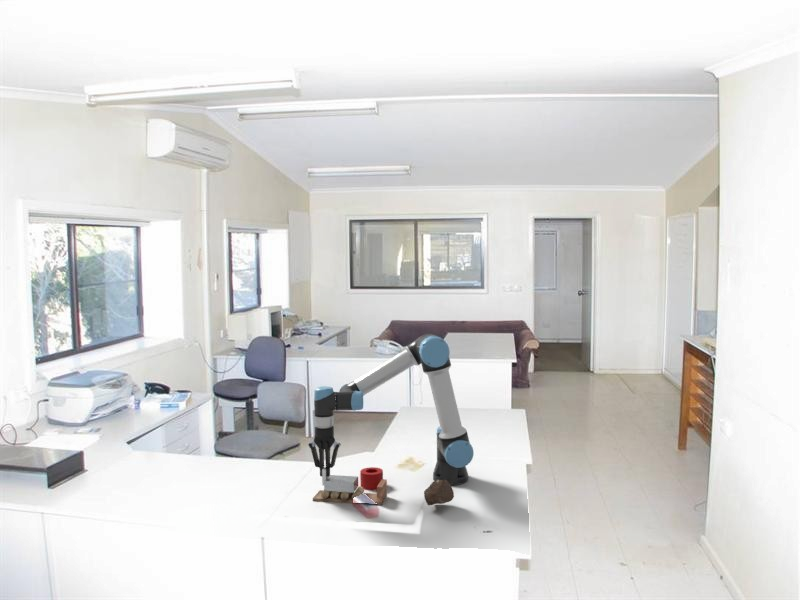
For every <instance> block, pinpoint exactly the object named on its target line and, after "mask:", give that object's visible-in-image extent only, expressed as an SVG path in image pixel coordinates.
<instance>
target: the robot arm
mask: <svg viewBox="0 0 800 600" xmlns="http://www.w3.org/2000/svg"><path fill="white" fill-rule="evenodd" d="M450 352H451V351H450V347H449V345H448V343H447V342H446V340H445V339H443V338H442V337H441V336H438V335H436V334H434V333H425V334H423V335H421V336H419V337H417V338H416V339H415V340H414V341H412V342H409V344H407V345H406V346H405V349H403V350H402V351H400V352H399V353H397V354H396V355H394V356H392V357H391V358H389V359H388V360H386V361H383V362H382V363H381V364H379V365H378V366H376V367H374V368H372V369H371V370H369V371H368V372H366V373H364V374H363V375H360V376H359V377H358V378H356V379H355V380H353V381H351V382H349V383H345V384H343V385H342V386H341V387H340V388H339V390H338V391H334V388H333V387H332V386H327V385H326V386H324V385H323V386H317V387H316V388H315V389H314V398H313V403H314V404H313V405H314V409H313V410H314V426H315V427H314V439H313V441H310V442H309V443H308V444H307V445H308V447H309V448H310V451H311V454H312V458H313V463H314V466H315V467H316V468H319V476H320V477H321V479H322V480H321V482H322V483H321V484H322V486H324V480H325V479H326V478H327V477H329V476H330V475H331V469H332V468H333V467H334V466H335V465H336V464H335V463H336V460H337V455H338V452H339V448H340V447H341V443H340V442H337V441H336V439H335V432H334V431H335V430H334V429H335V427H334V422H335V421H334V412H343V411H348V412H349V411H353V412H355V411H362V410H363V409H364V396H366V395H367V394H369V393H371V392H372V391H374V390H375V389H377V388H378V387H380V386H382V385H383V384H385V383H387V382H389V381H390V380H393V379H394V378H395V377H396V376H398V375H400V374H402V373H403V372H405V371H406V370H408V369H410V368H412V367H413V366H420V365H421V368H422V372H423V373H424V374H426V375H427V377H428V382H429V386H430V390H431V394H432V397H433V401H434V406H435V410H436V415H437V418H438V423H439V426H438V427H437V428H436V433H435V434H436V463H435V467H434V469H433V471H432V472H433V475H432V479H433V482H434V481H436V480H447V481H448V482H449V484H450V485H451V486H452V485H453V486H454V485H461V484H465V483H466V482H468V481H469V473H468V470H467V467H466V466H468V465H469V464H470V463H471V462H472V460H473V458H474V448H473V446H472V444H471V442H470V437H469V434H468V430H467V428H466V427H464V426H462V421H461V417H460V413H459V408H458V404H457V399H456V396H455V393H454V389H453V383H452V379H451V375H450V368H451V366H452V363H451V359H450ZM316 447H317V448H318V449H317V448H316ZM332 447H333V450H332V451H333V452H332V455H331V448H332ZM317 450H318V451H317Z"/></svg>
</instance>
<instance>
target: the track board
mask: <svg viewBox="0 0 800 600" xmlns="http://www.w3.org/2000/svg"><path fill="white" fill-rule="evenodd" d="M323 490H324V489H323ZM323 490H321V489H319V490H318V492H317V493H316V494H315V495H314V496H313V497H312V502H329V503H341V504H343V503H344V504H354V503H353V498H352V495H353V494H354V493H355V492H354V493H353V492H352V493H351V494H350V495H349V497H348V498H347V499H346V500H343V499H341V496H340V495H341V494H340V495H339V496H338V498H337V499H332V498H331V494H330V495H329V496H328V497H327V498H326V499H324V498H322V497H321V493H322V491H323ZM332 492H333V491H332ZM363 493H364V494H366V495H367V496H368V497H369V498H370V499H372V500H373V501H374V502H375V503H377V504H378V505H377V506H382V505H384V503H385V501H386V499H387V497H388V481H387V479H386V478H385V479H384V478H383V479H382V480H381V481H380V483H379V484H378V486H377V490H376V493H374V492H373V493H372V492H363Z"/></svg>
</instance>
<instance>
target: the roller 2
mask: <svg viewBox="0 0 800 600" xmlns="http://www.w3.org/2000/svg"><path fill="white" fill-rule="evenodd" d="M351 493H352V492H342V493H341V495H340V496H341V499H343V500H346V499H347V498H348V497H349V495H350V494H351Z"/></svg>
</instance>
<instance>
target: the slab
mask: <svg viewBox="0 0 800 600" xmlns="http://www.w3.org/2000/svg"><path fill="white" fill-rule="evenodd" d="M358 487H359V476H356V475H340V474H339V475H337V474H335V475H332V474H330V476H329V477H327V478H326V479H325V480H324V485H323V490H324V491H336V492H353V493H354V492H355V491H356V490H357V488H358Z"/></svg>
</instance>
